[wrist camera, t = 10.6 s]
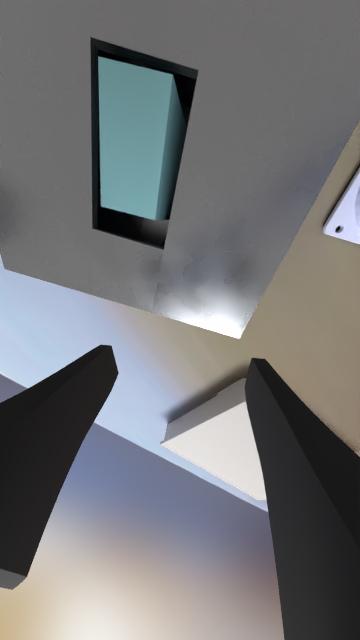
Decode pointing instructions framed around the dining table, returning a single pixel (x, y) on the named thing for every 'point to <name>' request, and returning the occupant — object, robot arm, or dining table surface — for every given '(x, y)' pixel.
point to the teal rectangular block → (139, 139)
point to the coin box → (198, 153)
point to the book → (220, 440)
